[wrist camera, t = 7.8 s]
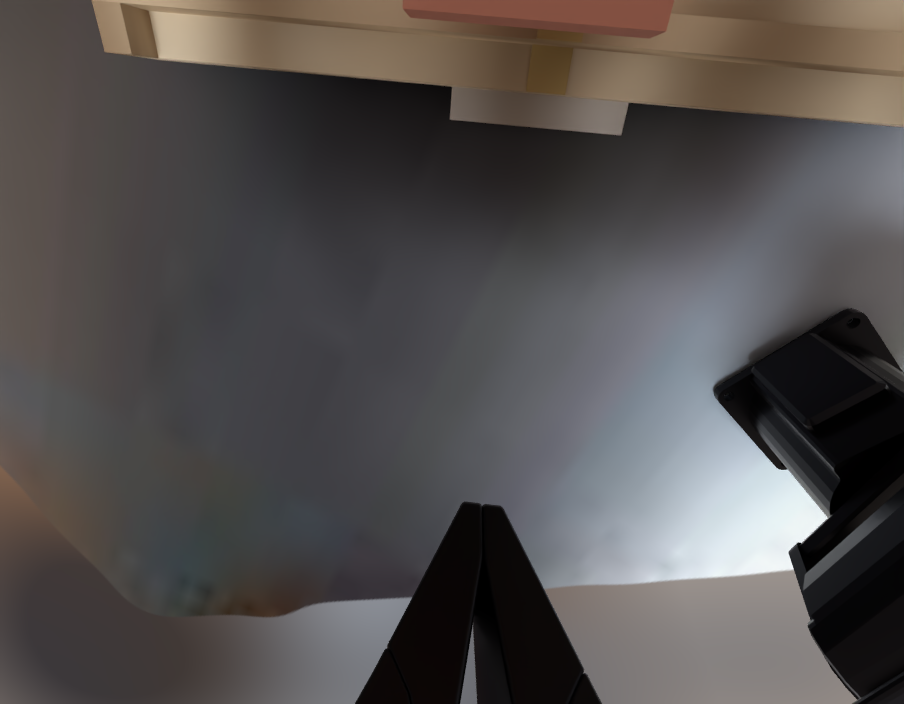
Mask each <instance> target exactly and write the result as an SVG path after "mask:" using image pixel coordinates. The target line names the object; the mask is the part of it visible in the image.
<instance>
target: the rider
mask: <svg viewBox="0 0 904 704" xmlns="http://www.w3.org/2000/svg"><path fill="white" fill-rule="evenodd" d="M673 3H674V0H403V10H404V11H405V12H406V13H407V14H408V15H409V17H410V18H418V19H430V20H441V21H452V22H464V23H475V24H487V25H498V26H510V27H521V28H533V29H544V30H556V31H567V32H579V33H590V34H602V35H613V36H625V37H636V38H648V39H649V38H652V37H654V36H657V35H659V34H661V33H664V32H666V30H667V26H668V23H669V19H670V15H671V11H672V7H673Z"/></svg>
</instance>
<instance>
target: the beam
mask: <svg viewBox="0 0 904 704" xmlns="http://www.w3.org/2000/svg"><path fill="white" fill-rule="evenodd" d="M92 3H93V7H94V11H95V15H96V19H97V23H98V27H99V30H100V34H101V38H102V42H103V46H104V50H105V52H108V53H115V54H122V55H129V56H136V57H143V58H150V59H157V60H164V61H175V62H186V63H197V64H208V65H219V66H230V67H241V68H252V69H263V70H275V71H286V72H297V73H308V74H319V75H330V76H341V77H352V78H363V79H374V80H385V81H396V82H407V83H418V84H429V85H440V86H451V87H452V95H451V110H450V120H459V121H469V122H480V123H491V124H502V125H513V126H524V127H534V128H545V129H556V130H567V131H578V132H589V133H599V134H610V135H621V134H622V130H623V125H624V121H625V117H626V113H627V109H628V105H629V103H639V104H650V105H661V106H672V107H683V108H694V109H705V110H716V111H727V112H739V113H750V114H761V115H772V116H783V117H794V118H805V119H816V120H827V121H838V122H849V123H860V124H871V125H882V126H893V127H904V0H674V3H673V7H672V11H671V15H670V19H669V23H668V26H667V30H666V32H664V33H661V34H659V35H657V36H654V37H652V38H649V39H648V38H636V37H625V36H613V35H602V34H590V33H579V32H567V31H556V30H544V29H533V28H521V27H510V26H498V25H487V24H475V23H464V22H452V21H441V20H430V19H418V18H410V17H409V15H408V14H407V13H406V12H405V11H404V10H403V0H92Z"/></svg>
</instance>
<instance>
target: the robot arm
mask: <svg viewBox="0 0 904 704" xmlns="http://www.w3.org/2000/svg"><path fill="white" fill-rule="evenodd" d="M852 318H853V320H852V321H851V322H850V323H849V324H847V322H848V321H849V320H850V319H852ZM728 392H730V394H729V395H727V396H724V395H725V394H726V393H728ZM714 396H715V398H716V399H717V400H718V401H719V403H720V404H721V405H722V406H723V407H724V408H725V409H726V411H727V412H728V413H729V414H730V415H731V416H732V417H733V419H734V420H735V421H736V422H737V423H738V424H739V425H740V427H741V428H742V429H743V430H744V431H745V432H746V433H747V435H748V436H749V437H750V438H751V439H752V440H753V441H754V443H755V444H756V445H757V446H758V447H759V448H760V449H761V450H762V452H763V453H764V454H765V455H766V456H767V457H768V458H769V460H770V461H771V462H772V463H773V464H774V465H775V466H776V468H778V469H781V470H787V469H788V470H789V471H790V473H791V474H792V475H793V476H794V477H795V479H796V480H797V481H798V482H799V483H800V485H801V486H802V487H803V488H804V489H805V491H806V492H807V493H808V494H809V496H810V497H811V498H812V499H813V500H814V502H815V503H816V504H817V505H818V506H819V508H820V509H821V510H822V511H823V512H824V514H825V515H826V516H827V517H828V519H826V520H825V521H824V522H823V523H822V524H821V525H820V526H819V527H818V528H817V529H816V530H815V531H814V532H813V533H812V534H811V535H810V536H809V537H808V538H806V539H805V540H804V541H803V542H802V543H797V544H796V545H795V546H794V547H793V548H792V549H791V550H790V551H789V556H790V559H791V562H792V565H793V568H794V571H795V574H796V577H797V580H798V583H799V586H800V589H801V592H802V595H803V598H804V602H805V605H806V608H807V611H808V614H809V616H810V620H811V621H810V622H809V623H808V628H809V631H810V633H811V636H812V638H813V639H814V641H815V643H816V644H817V646H818V647H819V649H820V650H821V652H822V654H823V655H824V657H825V659H826V660H827V662H828V664H829V665H830V667H831V669H832V670H833V672H834V673H835V674H836V675H837V677H838V678H839V679H840V680H841V682H842V683H843V684H844V686H845V687H846V688H847V689H848V690H849V691H850V692H851V693H852V694H853V695H854V697H855V698H856V699H857V701H855V702H853V703H852V704H904V373H903V372H902V370H901V368H900V367H899V365H898V364H897V362H896V361H895V359H894V358H893V356H892V355H891V353H890V352H889V350H888V348H887V347H886V345H885V344H884V342H883V341H882V339H881V338H880V336H879V335H878V333H877V332H876V330H875V328H874V327H873V325H872V324H871V322H870V321H869V319H868V318H867V316H866V315H865V314H864V313H862V312H860V311H858V310H857V309H852V308H851V309H846V310H844V311H841V312H840V313H838V314H836V315H835V316H833V317H831V318H830V319H828V320H826V321H825V322H823V323H821V324H820V325H818V326H817V327H815V328H813V329H812V330H810V331H808V332H807V333H805V334H803V335H802V336H800V337H798V338H797V339H795V340H793V341H792V342H790V343H788V344H787V345H785V346H784V347H782V348H780V349H779V350H777V351H775V352H774V353H772V354H770V355H769V356H767V357H765V358H764V359H762V360H760V361H759V362H757V363H755V364H754V365H752V366H751V367H749V368H747V369H746V370H744V371H742V372H741V373H739V374H737V375H736V376H734V377H732V378H731V379H729V380H727V381H726V382H724V383H722V384H721V385H719V386H718V387H717V388H716V389H715V391H714ZM472 625H473V634H474V652H475V653H474V654H475V672H476V691H477V704H602V703H601V701H600V699H599V697H598V695H597V693H596V691H595V689H594V687H593V685H592V683H591V681H590V679H589V677H588V675H587V674H586V673H584V674H583V672H584V668H583V666H582V664H581V662H580V660H579V658H578V656H577V654H576V652H575V650H574V648H573V646H572V644H571V642H570V640H569V638H568V636H567V634H566V632H565V630H564V628H563V626H562V624H561V622H560V620H559V618H558V616H557V614H556V612H555V610H554V608H553V606H552V604H551V602H550V600H549V598H548V596H547V594H546V592H545V590H544V588H543V586H542V584H541V582H540V580H539V578H538V576H537V574H536V572H535V570H534V568H533V566H532V564H531V562H530V560H529V558H528V556H527V554H526V552H525V550H524V548H523V546H522V544H521V542H520V540H519V538H518V536H517V534H516V532H515V530H514V528H513V526H512V524H511V523H510V521H509V519H508V517H507V515H506V513H505V511H504V509H503V508H502V507H501V506H498V505H490V504H484V505H483V506H482V505H481V504H479V503H473V502H463V503H462V504H461V506H460V508H459V510H458V511H457V513H456V515H455V517H454V519H453V521H452V523H451V525H450V527H449V529H448V531H447V532H446V534H445V536H444V538H443V540H442V542H441V544H440V546H439V548H438V550H437V552H436V553H435V555H434V557H433V559H432V561H431V563H430V565H429V567H428V569H427V571H426V572H425V574H424V576H423V578H422V580H421V582H420V584H419V586H418V588H417V590H416V592H415V593H414V595H413V597H412V599H411V601H410V603H409V605H408V607H407V609H406V611H405V613H404V615H403V616H402V618H401V620H400V622H399V624H398V626H397V628H396V630H395V632H394V634H393V636H392V637H391V639H390V641H389V643H388V645H387V649H385V650H384V652H383V654H382V656H381V658H380V660H379V662H378V664H377V665H376V667H375V669H374V671H373V673H372V675H371V676H370V678H369V680H368V682H367V683H366V685H365V687H364V689H363V690H362V692H361V694H360V696H359V698H358V699H357V701H356V703H355V704H460V700H461V694H462V688H463V682H464V675H465V669H466V663H467V656H468V650H469V644H470V638H471V631H472ZM582 674H583V675H582Z"/></svg>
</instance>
